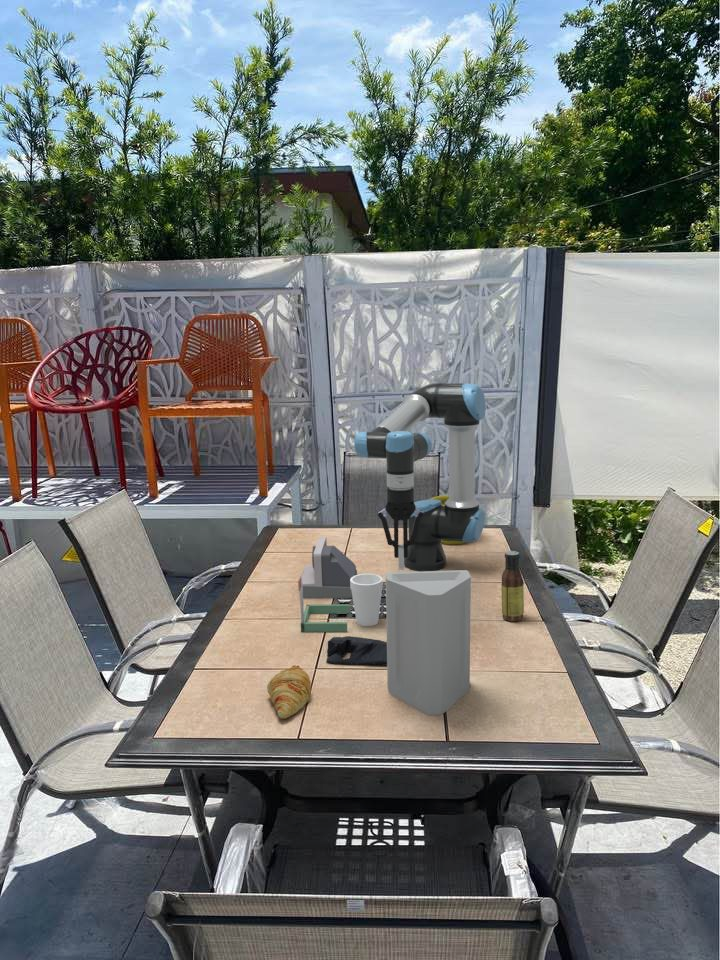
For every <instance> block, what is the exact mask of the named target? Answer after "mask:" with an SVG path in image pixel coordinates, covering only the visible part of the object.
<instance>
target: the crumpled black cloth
mask: <svg viewBox="0 0 720 960" xmlns="http://www.w3.org/2000/svg"><path fill="white" fill-rule="evenodd" d="M326 653H327V655H326V661H325V662H327V663H328V664H331V665H332V664H333V665H334V664H340V665H341V664H342V665H355V666H356V665H358V666H360V665H375V666H378V665H379V666H382V665H384V666H387V641H384V640H380V639H374V638H366V637H359V636H351V635H349V636H333V637H331V638H330V639H329V640H328V641H327V650H326ZM346 653H347V654H349V657H347V658H344V657H345V655H346Z"/></svg>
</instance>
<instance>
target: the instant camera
mask: <svg viewBox="0 0 720 960" xmlns="http://www.w3.org/2000/svg"><path fill="white" fill-rule="evenodd" d="M327 539H328V538H327V536H319V537H318V539H317V542H316V545H313V546H312V549H311V550H312V554H311V555H312V556H311V557H312V558H311V562H312V563H310V564H307V565H305V566H304V567H303V570H302V574H301V575H302V586H303V599H353V597H352V591H351V589H350V578H352V577H353V576H355V575H358V569H357V566H356V564H355V563H354V562H353V561H352V560H351V559H350V558H349V557H348V556H347V555H345V553H343V552H342V551H341V550H340V549H339V548H337V547H336V546H335V545H328V540H327Z"/></svg>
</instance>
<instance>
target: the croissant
mask: <svg viewBox="0 0 720 960" xmlns="http://www.w3.org/2000/svg"><path fill="white" fill-rule="evenodd" d="M266 689H267V690H266V691H267V693H268V695H269V700H270V702H271V703H272V704H273V705H274V709H275V711H277V715H278V717H279V718H280V719H281V720H282V719H287V718H289V717H290V718H291V716H293V715H295V714H297V712H299V711H300V710H301V709H303V708H304V706H305V705H306V704H307V703H309V702H310V701H311V697H312V683H311V679H310V677H309V674H308V673H307V672H306V671H305V670H304V669H302V667H300V665H291V667H290V668H286V669H284V670H281V671H279V672H278V673H277V674H275V675H274V676H273V677H271V678H270V681H268V683H267V685H266Z"/></svg>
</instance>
